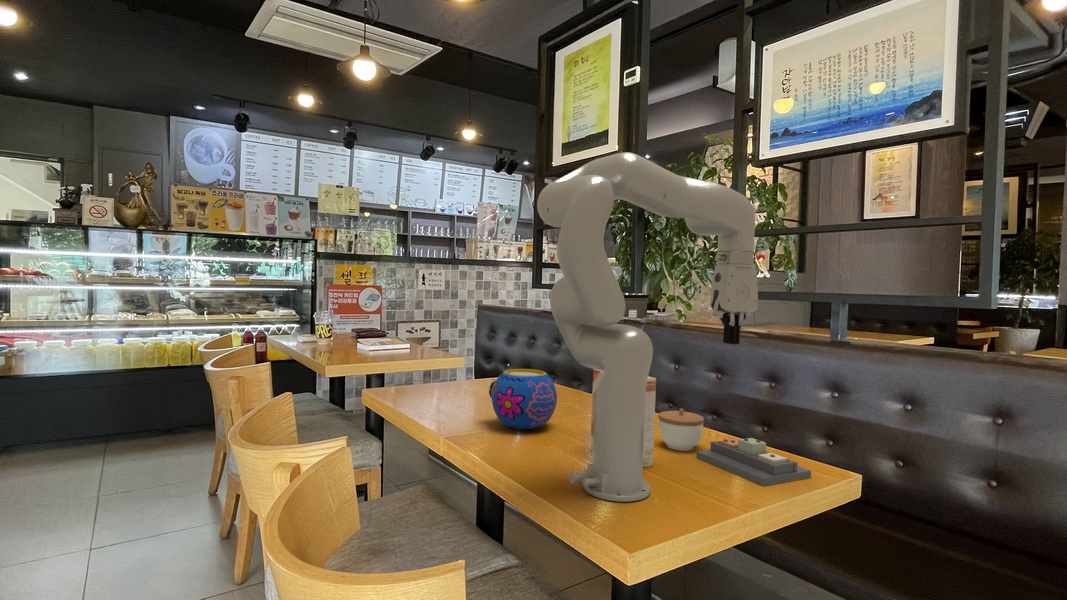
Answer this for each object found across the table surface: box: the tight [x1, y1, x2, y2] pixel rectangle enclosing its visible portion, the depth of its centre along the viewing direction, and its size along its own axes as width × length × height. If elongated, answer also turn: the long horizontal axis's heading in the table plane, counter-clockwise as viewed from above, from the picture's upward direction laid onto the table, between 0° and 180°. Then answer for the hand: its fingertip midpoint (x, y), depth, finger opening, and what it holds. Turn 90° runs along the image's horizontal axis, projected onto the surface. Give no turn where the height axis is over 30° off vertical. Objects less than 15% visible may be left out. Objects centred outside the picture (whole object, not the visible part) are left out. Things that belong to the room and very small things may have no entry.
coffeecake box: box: [589, 369, 657, 468], centre depth 125 cm, size 15×7×20 cm, turn 27°
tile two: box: [738, 437, 767, 456], centre depth 121 cm, size 4×4×3 cm
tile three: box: [719, 438, 739, 449], centre depth 126 cm, size 4×4×3 cm
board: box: [696, 440, 812, 487], centre depth 122 cm, size 14×19×4 cm
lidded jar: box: [658, 408, 705, 452], centre depth 135 cm, size 11×11×9 cm
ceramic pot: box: [488, 368, 558, 430], centre depth 148 cm, size 18×18×15 cm
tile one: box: [758, 452, 788, 464], centre depth 117 cm, size 4×4×3 cm
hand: (731, 343), depth 122 cm, fingers closed
